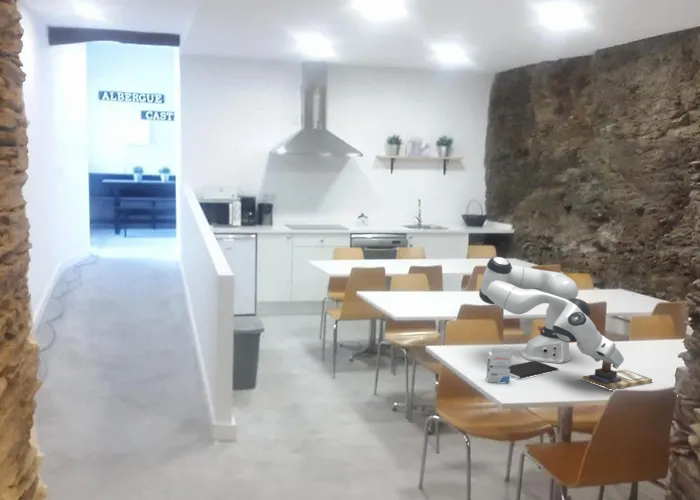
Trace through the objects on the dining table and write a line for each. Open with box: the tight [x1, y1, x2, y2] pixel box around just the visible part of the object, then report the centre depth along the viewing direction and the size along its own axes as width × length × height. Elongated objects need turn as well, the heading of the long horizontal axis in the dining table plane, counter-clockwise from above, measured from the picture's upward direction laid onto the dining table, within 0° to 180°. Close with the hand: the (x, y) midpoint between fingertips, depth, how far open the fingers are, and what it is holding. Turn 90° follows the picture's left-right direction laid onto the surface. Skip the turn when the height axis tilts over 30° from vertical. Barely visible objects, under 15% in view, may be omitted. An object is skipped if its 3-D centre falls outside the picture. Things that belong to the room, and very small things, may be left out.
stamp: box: [594, 361, 617, 380], centre depth 288 cm, size 6×6×9 cm
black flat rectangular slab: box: [510, 360, 559, 380], centre depth 301 cm, size 13×27×2 cm, turn 127°
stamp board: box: [581, 369, 653, 390], centre depth 293 cm, size 26×14×3 cm, turn 119°
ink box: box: [485, 347, 512, 383], centre depth 284 cm, size 8×5×15 cm, turn 96°
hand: (607, 363), depth 288 cm, fingers open, 8 cm apart
